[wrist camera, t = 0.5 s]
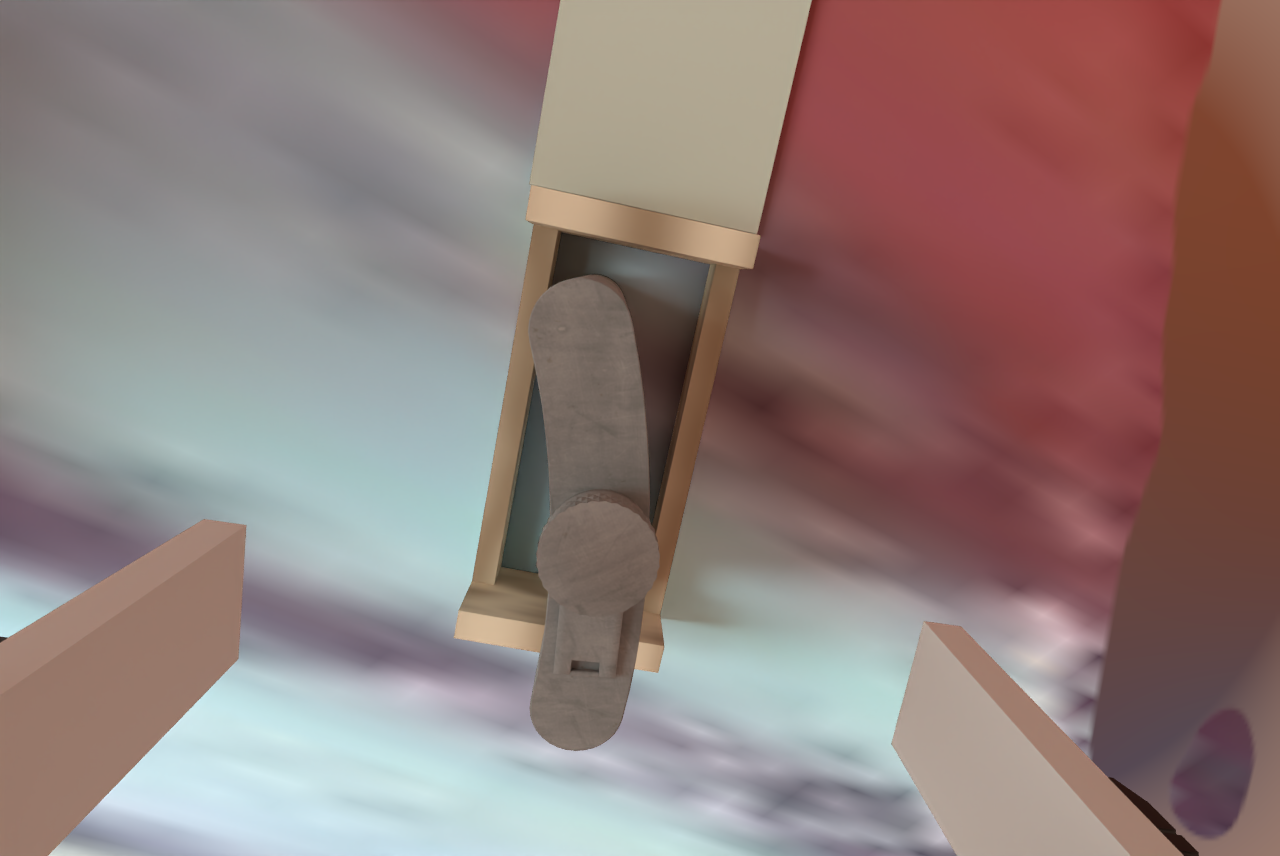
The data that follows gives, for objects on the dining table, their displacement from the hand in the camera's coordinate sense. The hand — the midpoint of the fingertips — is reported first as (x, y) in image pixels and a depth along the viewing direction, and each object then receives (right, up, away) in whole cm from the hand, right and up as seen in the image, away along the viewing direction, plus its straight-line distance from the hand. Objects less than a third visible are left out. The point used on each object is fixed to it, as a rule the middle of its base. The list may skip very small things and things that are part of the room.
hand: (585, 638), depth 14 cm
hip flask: (-1, +5, +27) cm, 27 cm away
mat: (+3, +23, +23) cm, 32 cm away
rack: (-1, +4, +26) cm, 27 cm away
